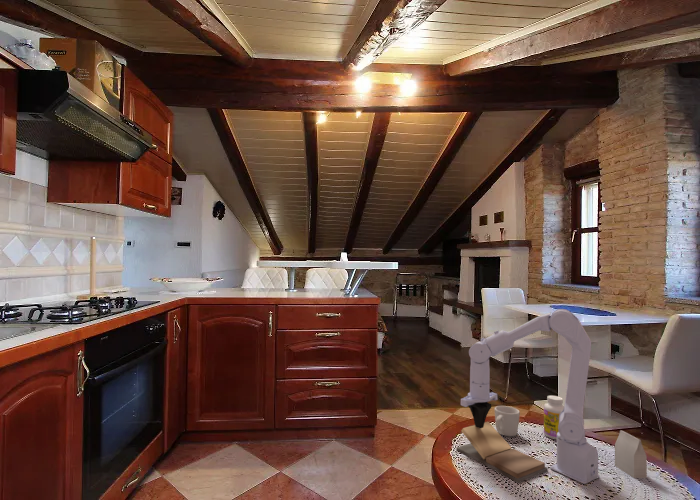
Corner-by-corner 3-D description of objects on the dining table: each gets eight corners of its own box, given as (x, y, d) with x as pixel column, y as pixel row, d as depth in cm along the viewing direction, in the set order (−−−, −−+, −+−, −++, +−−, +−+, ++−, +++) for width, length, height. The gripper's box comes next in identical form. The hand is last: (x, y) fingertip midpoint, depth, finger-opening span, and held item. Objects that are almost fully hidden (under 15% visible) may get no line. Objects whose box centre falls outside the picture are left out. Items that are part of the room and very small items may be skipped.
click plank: (509, 450, 117) (511, 447, 117) (483, 459, 111) (485, 456, 111) (486, 424, 125) (488, 421, 124) (461, 431, 119) (462, 428, 118)
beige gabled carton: (634, 478, 105) (633, 440, 106) (614, 465, 112) (614, 430, 113) (646, 478, 106) (646, 440, 106) (626, 465, 113) (626, 430, 113)
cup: (508, 443, 125) (509, 417, 126) (485, 435, 131) (485, 410, 132) (523, 434, 132) (523, 410, 133) (501, 427, 138) (501, 404, 139)
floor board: (547, 470, 108) (547, 463, 108) (518, 483, 101) (518, 475, 101) (485, 441, 126) (485, 435, 126) (456, 450, 119) (456, 443, 119)
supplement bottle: (539, 433, 134) (539, 395, 134) (554, 431, 136) (554, 393, 136) (554, 441, 127) (554, 401, 128) (570, 439, 129) (570, 400, 130)
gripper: (484, 375, 128) (484, 418, 127) (453, 381, 121) (452, 426, 120) (503, 381, 122) (503, 426, 121) (471, 387, 115) (470, 435, 114)
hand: (479, 426), depth 120 cm, fingers closed, pressing on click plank
